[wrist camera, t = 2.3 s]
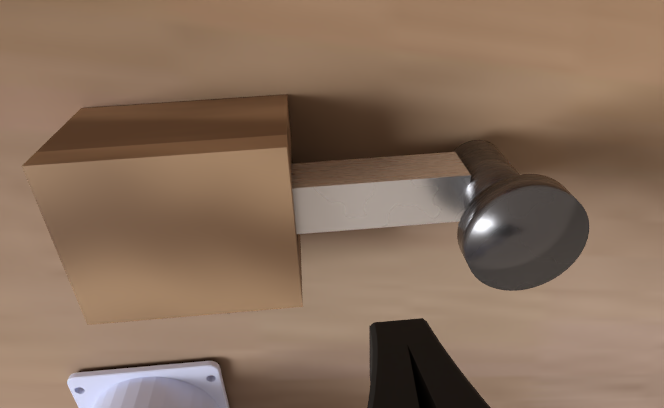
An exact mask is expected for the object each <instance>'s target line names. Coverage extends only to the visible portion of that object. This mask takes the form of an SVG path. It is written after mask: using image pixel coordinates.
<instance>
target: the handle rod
mask: <svg viewBox="0 0 664 408" xmlns="http://www.w3.org/2000/svg"><path fill="white" fill-rule="evenodd" d="M291 174H292V192H293V202H294V212H295V223H296V233H297V234H306V233H319V232H331V231H344V230H357V229H369V228H382V227H395V226H408V225H420V224H433V223H446V222H458V221H460V222H459V226H458V233H457V238H458V244H459V247H460V250H461V252H462V254H463V256H464V258H465V260H466V262H467V264H468V266H469V268H470V270H471V272H472V273H473V274H474V276H475V277H476V278H477V279H478V280H480V281H481V282H482V283H484V284H486V285H488V286H490V287H493V288H496V289H501V290H510V291H512V290H524V289H529V288H533V287H536V286H539V285H542V284H544V283H546V282H549V281H550V280H552V279H554V278H556V277H557V276H559V275H560V274H562V273H563V272H564V271H565V270H567V269H568V268H569V267H570V266H571V265H572V264H573V263H574V262H575V260H576V259H577V258H578V257H579V255H580V254H581V252H582V250H583V248H584V246H585V244H586V241H587V239H588V234H589V220H588V216H587V213H586V211H585V209H584V207H583V206H582V205H581V204H580V203H579V202H578V201H577V199H576V198H575V197H574V196H573V195H572V194H571V193H570V192H569V191H568V190H567V189H566V188H565V187H564V186H562V185H561V184H560V183H559V182H557V181H556V180H554V179H552V178H549V177H546V176H542V175H536V174H523V175H520V174H519V173H518V172H517V171H516V170H515V169H514V167H513V166H512V165H511V164H510V163H509V162H508V161H507V159H506V158H505V157H504V156H503V155H502V154H501V152H500V151H499V150H498V149H497V148H496V147H495V146H494V145H493V144H491V143H489V142H487V141H482V140H475V141H470V142H467V143H464V144H462V145H461V146H459V147H458V148H456V149H455V150H454V151H453V152H445V153H431V154H418V155H404V156H390V157H376V158H362V159H349V160H335V161H321V162H307V163H294V164H291Z"/></svg>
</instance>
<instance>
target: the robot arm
mask: <svg viewBox="0 0 664 408" xmlns="http://www.w3.org/2000/svg"><path fill="white" fill-rule="evenodd" d="M210 375H213V376H210ZM370 381H371V385H370V394H369V401H368V407H367V408H490V406H489V405H488V404H487V403H486V402H485V401H484V399H483V398H482V397H481V396H480V395H479V393H478V392H477V391H476V390H475V388H474V387H473V386H472V385H471V383H470V382H469V381H468V380H467V378H466V377H465V376H464V375H463V373H462V372H461V371H460V369H459V368H458V367H457V366H456V364H455V363H454V361H453V360H452V359H451V357H450V356H449V355H448V353H447V352H446V350H445V349H444V348H443V346H442V345H441V343H440V342H439V340H438V339H437V337H436V336H435V334H434V333H433V331H432V329H431V328H430V326H429V325H428V323H427V321H425V320H424V319H423V318H422V319H410V320H399V321H387V322H376V323H373V324H372V325H371V326H370ZM67 384H68V387H69V389H70V391H71V393H72V395H73V397H74V399H75V401H76V403H77V405H78V407H79V408H229V403H228V399H227V395H226V391H225V387H224V382H223V378H222V374H221V370H220V366H219V364H218V363H216V362H214V361H201V362H189V363H178V364H167V365H156V366H144V367H133V368H122V369H111V370H99V371H88V372H77V373H73V374H71V375H70V377H69V379H68V381H67Z"/></svg>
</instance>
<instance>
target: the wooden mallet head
mask: <svg viewBox="0 0 664 408" xmlns="http://www.w3.org/2000/svg"><path fill="white" fill-rule="evenodd" d="M22 168H23V170H24V173H25V175H26V178H27V180H28V182H29V185H30V187H31V190H32V192H33V195H34V197H35V199H36V202H37V204H38V207H39V209H40V211H41V214H42V216H43V219H44V221H45V223H46V226H47V228H48V231H49V233H50V236H51V238H52V240H53V243H54V245H55V248H56V250H57V252H58V255H59V257H60V260H61V262H62V264H63V267H64V269H65V272H66V274H67V277H68V279H69V281H70V284H71V286H72V289H73V291H74V293H75V296H76V298H77V301H78V303H79V305H80V308H81V310H82V313H83V315H84V318H85V320H86V322H87V325H93V324H104V323H116V322H128V321H140V320H151V319H163V318H175V317H187V316H198V315H210V314H222V313H234V312H246V311H257V310H269V309H281V308H293V307H303V303H302V275H301V246H300V234H297V233H296V223H295V212H294V202H293V192H292V174H291V130H290V120H289V109H288V98H287V95H273V96H258V97H243V98H228V99H213V100H198V101H183V102H168V103H153V104H138V105H123V106H108V107H93V108H81V109H80V110H79V111H78V112H77V113H76V114H75V115H74V116H73V117H72V118H71V119H70V120H69V121H68V122H67V123H66V124H65V125H64V126H63V127H62V128H60V129H59V130H58V131H57V132H56V133H55V134H54V135H53V136H52V137H51V138H50V139H49V140H48V141H47V142H46V143H45V144H44V145H43V146H42V147H41V148H40V149H39V150H38V151H37V152H36V153H35V154H34V155H33V156H32V157H31V158H30V159H29V160H28V161H27V162H26V163H25V164H24V165H22Z"/></svg>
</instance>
